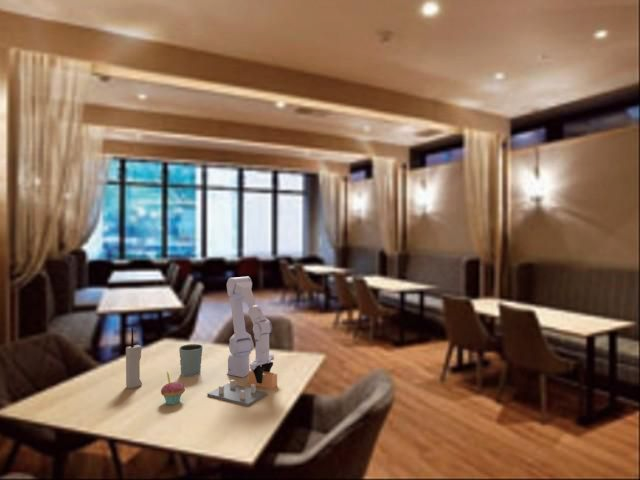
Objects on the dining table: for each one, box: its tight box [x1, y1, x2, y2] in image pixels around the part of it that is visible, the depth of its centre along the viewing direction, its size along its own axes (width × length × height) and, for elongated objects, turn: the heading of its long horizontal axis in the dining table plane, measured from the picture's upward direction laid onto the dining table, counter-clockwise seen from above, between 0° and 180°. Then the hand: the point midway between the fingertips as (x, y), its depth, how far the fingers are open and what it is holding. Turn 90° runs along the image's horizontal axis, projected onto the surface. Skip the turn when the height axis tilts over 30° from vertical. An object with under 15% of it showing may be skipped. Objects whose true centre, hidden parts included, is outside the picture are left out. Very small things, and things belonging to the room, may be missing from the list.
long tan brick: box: [247, 369, 278, 390], centre depth 170 cm, size 12×4×7 cm, turn 62°
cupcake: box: [160, 371, 186, 405], centre depth 153 cm, size 9×8×12 cm
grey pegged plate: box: [206, 379, 268, 407], centre depth 159 cm, size 20×12×4 cm, turn 62°
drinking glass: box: [178, 343, 203, 377], centre depth 184 cm, size 10×10×12 cm
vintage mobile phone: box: [125, 326, 143, 390], centre depth 168 cm, size 4×5×25 cm
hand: (262, 381), depth 171 cm, fingers closed on long tan brick, 4 cm apart
